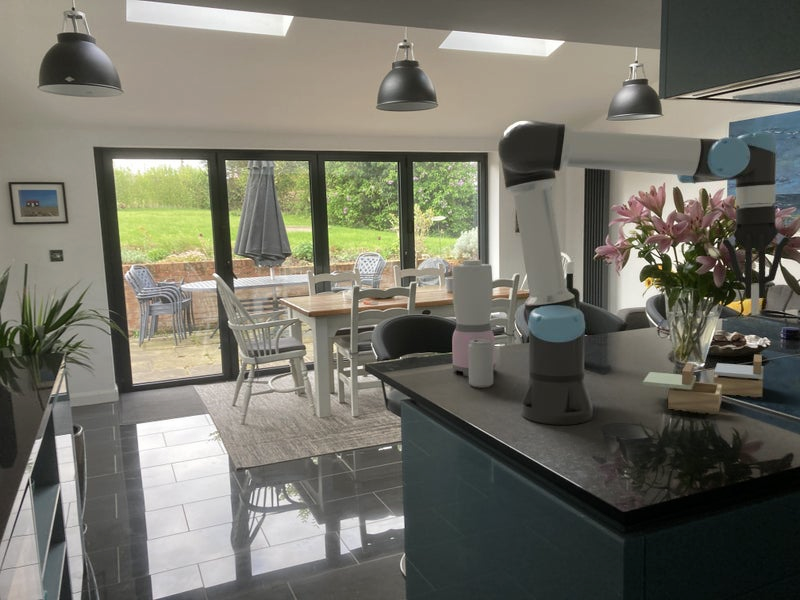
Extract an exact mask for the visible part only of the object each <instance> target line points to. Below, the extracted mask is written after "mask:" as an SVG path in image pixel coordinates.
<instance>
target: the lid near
mask: <svg viewBox="0 0 800 600" xmlns="http://www.w3.org/2000/svg"><path fill="white" fill-rule="evenodd" d="M696 380H697V376H696V375H695V363H689V362H687V363H685V365H684V367H683V369H682V371H681V374H679V373H677V374H676V373H667V372H666V373H665V372H655V371H653V372H652V371H649V372H648V374H647V376H645V378H644V380H642V386H649V387H650V386H652V387H661V388H680V389H692V387H693V385H694V382H696Z"/></svg>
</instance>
